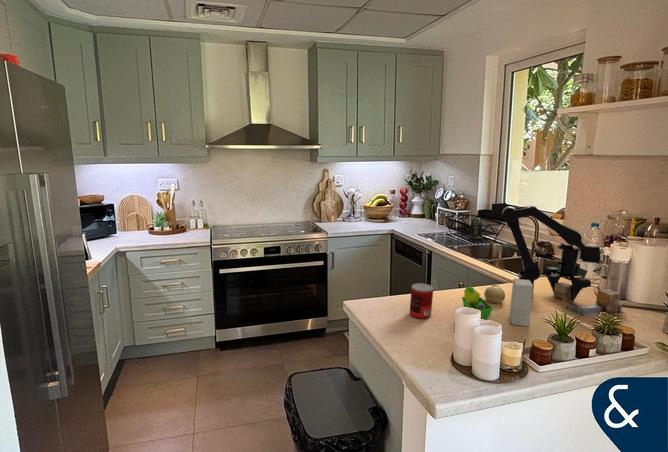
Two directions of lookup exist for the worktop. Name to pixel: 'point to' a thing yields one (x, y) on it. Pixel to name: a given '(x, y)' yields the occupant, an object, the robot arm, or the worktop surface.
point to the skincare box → (521, 302)
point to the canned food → (421, 301)
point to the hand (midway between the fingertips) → (563, 296)
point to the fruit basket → (476, 302)
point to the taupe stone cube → (608, 299)
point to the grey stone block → (562, 291)
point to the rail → (585, 314)
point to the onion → (494, 294)
